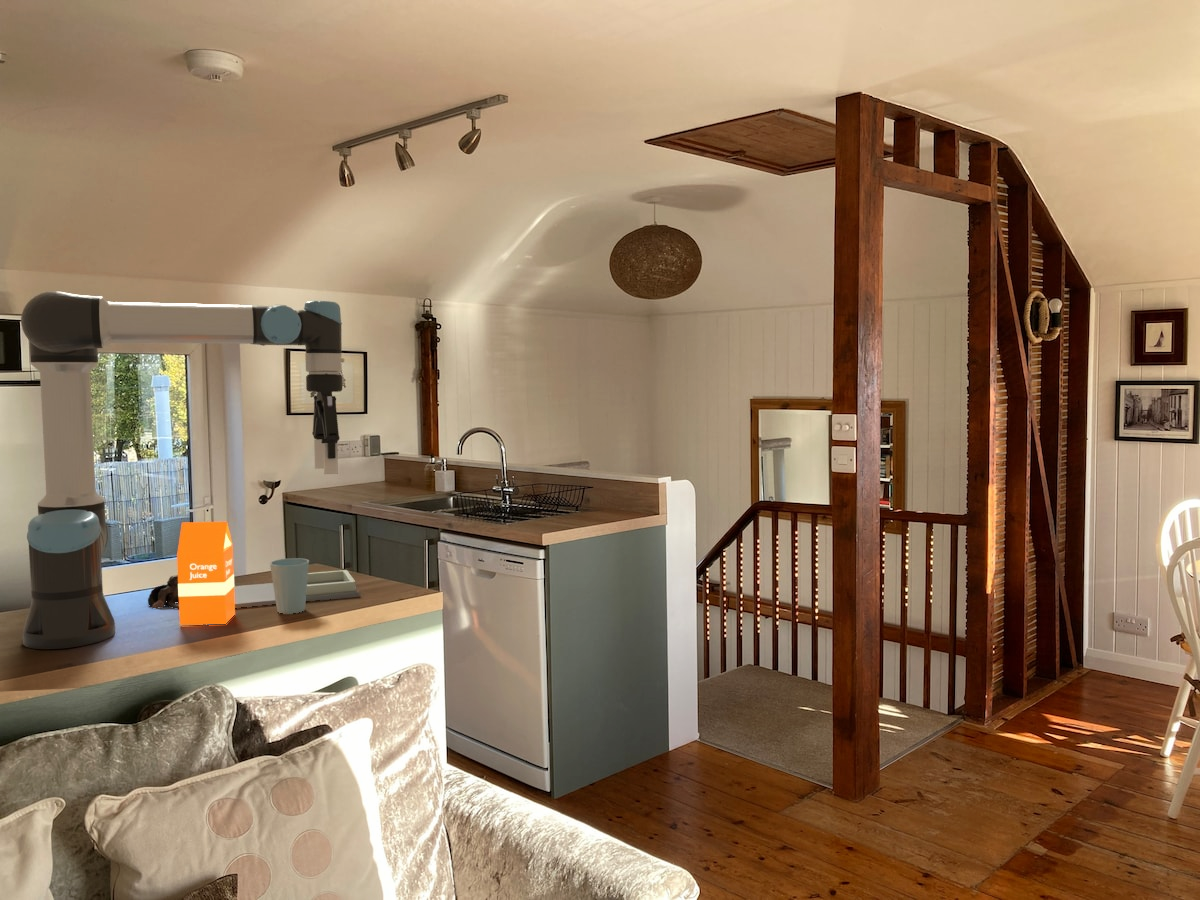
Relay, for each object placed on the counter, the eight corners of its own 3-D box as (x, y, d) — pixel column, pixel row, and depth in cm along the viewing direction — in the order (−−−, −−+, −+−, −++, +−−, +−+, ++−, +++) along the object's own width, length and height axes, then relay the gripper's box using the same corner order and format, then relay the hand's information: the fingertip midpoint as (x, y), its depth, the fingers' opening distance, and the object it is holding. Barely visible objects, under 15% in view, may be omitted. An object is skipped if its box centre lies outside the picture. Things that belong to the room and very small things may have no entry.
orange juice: (226, 625, 186) (222, 524, 185) (179, 626, 185) (174, 525, 183) (235, 614, 194) (232, 518, 192) (190, 616, 193) (186, 519, 191)
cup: (263, 612, 196) (262, 562, 195) (293, 604, 202) (291, 556, 201) (288, 617, 192) (287, 567, 191) (317, 609, 198) (316, 560, 197)
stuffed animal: (164, 609, 195) (142, 569, 201) (155, 642, 200) (133, 602, 205) (219, 597, 204) (196, 560, 210) (209, 629, 208) (187, 592, 214)
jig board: (233, 608, 198) (232, 594, 198) (230, 590, 214) (229, 577, 214) (359, 596, 209) (359, 583, 208) (347, 580, 224) (347, 568, 224)
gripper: (352, 373, 195) (354, 475, 196) (332, 373, 217) (334, 465, 219) (314, 373, 192) (316, 477, 193) (298, 373, 214) (300, 466, 216)
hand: (326, 471), depth 206 cm, fingers open, 13 cm apart
